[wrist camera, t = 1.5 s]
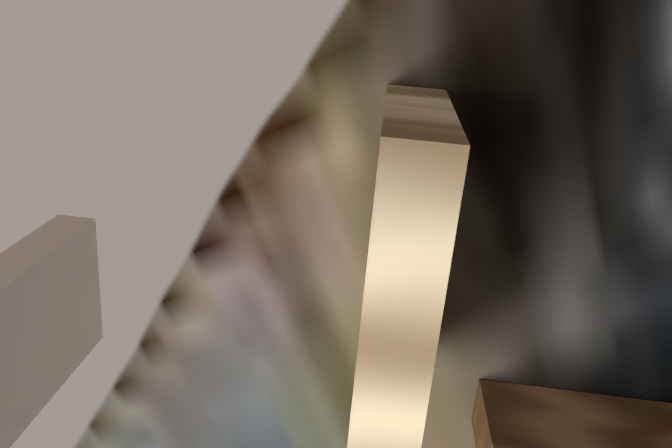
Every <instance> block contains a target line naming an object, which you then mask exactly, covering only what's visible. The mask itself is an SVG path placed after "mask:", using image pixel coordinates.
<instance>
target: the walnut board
mask: <svg viewBox="0 0 672 448" xmlns="http://www.w3.org/2000/svg"><path fill="white" fill-rule="evenodd" d="M472 425H473V431H474V437H475V443H476V448H672V403H667V402H659V401H651V400H643V399H635V398H627V397H619V396H611V395H603V394H595V393H587V392H579V391H571V390H563V389H555V388H547V387H539V386H531V385H522V384H514V383H506V382H498V381H490V380H482V379H479V384H478V389H477V394H476V399H475V404H474V409H473V414H472Z"/></svg>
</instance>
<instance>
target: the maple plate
mask: <svg viewBox="0 0 672 448" xmlns="http://www.w3.org/2000/svg"><path fill="white" fill-rule="evenodd" d="M469 151H470V144H469V141H468V139H467V137H466V135H465V132H464V130H463V128H462V125H461V123H460V121H459V119H458V116H457V114H456V112H455V109H454V107H453V105H452V103H451V100H450V98H449V96H448V93H447V91H446V90H442V89H432V88H421V87H411V86H401V85H390V84H388V86H387V94H386V101H385V109H384V116H383V124H382V131H381V140H380V149H379V158H378V167H377V176H376V186H375V195H374V204H373V213H372V222H371V232H370V241H369V250H368V259H367V269H366V278H365V287H364V296H363V305H362V315H361V324H360V333H359V342H358V351H357V361H356V370H355V379H354V388H353V398H352V407H351V416H350V425H349V434H348V444H347V448H421V445H422V439H423V433H424V426H425V420H426V414H427V408H428V402H429V396H430V390H431V384H432V377H433V371H434V365H435V359H436V353H437V347H438V341H439V335H440V328H441V322H442V316H443V310H444V304H445V298H446V292H447V286H448V279H449V273H450V267H451V261H452V255H453V249H454V243H455V237H456V230H457V224H458V218H459V212H460V206H461V200H462V194H463V188H464V181H465V175H466V169H467V163H468V157H469Z"/></svg>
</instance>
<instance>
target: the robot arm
mask: <svg viewBox="0 0 672 448" xmlns="http://www.w3.org/2000/svg"><path fill="white" fill-rule="evenodd" d="M102 337H103V334H102V319H101V303H100V287H99V272H98V257H97V240H96V225H95V219H94V218H85V217H75V216H67V215H57V216H55V217H54V218H52V219H51V220H49V221H48V222H46V223H45V224H43V225H42V226H40V227H39V228H37V229H36V230H35V231H33V232H32V233H30V234H29V235H27V236H25V237H24V238H22V239H21V240H20V241H18V242H17V243H15V244H14V245H12V246H11V247H9V248H8V249H6V250H5V251H3V252H2V253H1V254H0V448H10V447H11V446H12V444H13V443H14V442H15V441H16V440H17V438H18V437H19V436H20V435H21V434H22V432H23V431H24V430H25V429H26V428H27V426H28V425H29V424H30V423H31V422H32V420H33V419H34V418H35V417H36V416H37V415H38V413H39V412H40V411H41V410H42V409H43V407H44V406H45V405H46V404H47V402H48V401H49V400H50V399H51V398H52V397H53V395H54V394H55V393H56V392H57V391H58V389H59V388H60V387H61V386H62V385H63V384H64V382H65V381H66V380H67V379H68V378H69V376H70V375H71V374H72V373H73V372H74V370H75V369H76V368H77V367H78V366H79V365H80V363H81V362H82V361H83V360H84V359H85V357H86V356H87V355H88V354H89V352H90V351H91V350H92V349H93V348H94V347H95V345H96V344H97V343H98V342H99V341H100V339H101V338H102Z"/></svg>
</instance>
